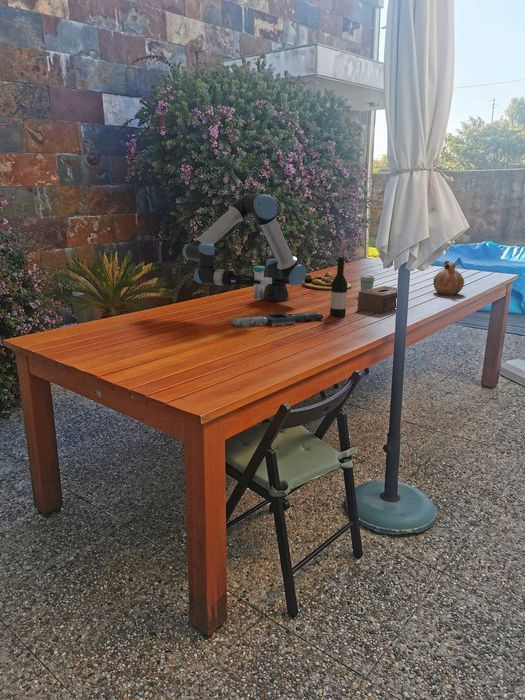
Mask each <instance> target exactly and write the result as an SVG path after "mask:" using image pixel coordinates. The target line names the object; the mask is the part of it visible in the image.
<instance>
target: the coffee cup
mask: <svg viewBox="0 0 525 700" xmlns="http://www.w3.org/2000/svg"><path fill="white" fill-rule="evenodd" d="M359 280H360V291H364V290H369V289H373V288H374V283H375V276H373V275H367V274H366V275H361V276H360V277H359Z"/></svg>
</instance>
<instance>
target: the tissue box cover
mask: <svg viewBox="0 0 525 700" xmlns="http://www.w3.org/2000/svg"><path fill="white" fill-rule="evenodd" d="M397 288H398V287H394V286H393V287H392V286H387V285H384V286H378V287H375V288H374V287H373V288H372V289H369V290H364V291H361V290H360V291H358V295H357V309H356V310H358V311H362V310H363V312H367V311H368V312H367V313H371V312H373V313H372V314H376V313H378V315H382V314H383V313H384V314H387V313H390V312H389V311H391V312H393V311H392V310H394V311H396V310H395V308H396V298H397ZM386 312H387V313H386ZM384 314H383V315H384Z"/></svg>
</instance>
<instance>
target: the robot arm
mask: <svg viewBox="0 0 525 700" xmlns="http://www.w3.org/2000/svg"><path fill="white" fill-rule="evenodd" d="M277 209H278V203H277V201H276V199H275V198H274V197H272V196H271V195H269V194H266V193H261V194H258V193H257V194H256V193H247V194H244V195H243V196H240V198H238V199H237V200H236V201H235V202H233V203H232V204H231V205H230V206H229V207H228V210H227V211H226V212H225V213H224V214H223V215H222V216H221V217H220V218H219V219H217V220H216V221H215V222H214V223H213V224H212V225H211V226H210V227H208V229H206V230H205V231H204V232H203V233H202V234H201V235H200V236H199V237H198V238H197V239H196V240H195V241H193V242H192V243H189V244H185V245H184V247H183V248H182V255H183V257H185V258H186V259H187V260H190V261H195V262H198V267H196V268H195V269H194V273H193V279H194V281H195V282H197V283H199V284H203V285H205V284H206V285H214V286H215V285H217V286H218V287H221V286H227V287H232V286H233V285H246V286H251V287H254V285H264V290H263V299H262V300H264V301H269V302H286V301H288V300H289V299H290V297H289V292H288V287H287V285H289V286H295V287H296V286H300V285H301V284H302V282H303V281H304V280H305V276H306V274H307V269H306V267H305V266H304V264H300V262H299V260H298V258H297V257H296V255H295V256H294V255H293V253H292V252H291V249H290V247H289V244H288V242H287V240H286V239H285V237H284V234H283V232H282V229H281V227H280V224H279V223H278V220H277V217H278V210H277ZM247 218H253V219H254V222H255V224H256V225H257V226H258V227H261V229H262V232H263V233H264V235H265V239H266V241H267V242H268V244H269V246H270V249H271V251H272V253H273V255H274V258H270V259H269V258H268V259H267V260H266V264H265V276H264V279H254V275H250V274H244V273H243V274H239V273H237V274H235V271H234V270H230V269H221V268H220V269H218V268H216V267H215V260H216V259H215V258H216V256H215V254H216V252H215V244H216V242H218V241H219V240H220V239H221V238H222V237H223V236H224V235H225V234H226V233H228V232H229V231H230V230H231V229H232V228H233V227H234V226H235V225H236V224H237V223H238V222H240V223H241V222H243V221H244V220H246V219H247Z"/></svg>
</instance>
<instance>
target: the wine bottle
mask: <svg viewBox="0 0 525 700" xmlns="http://www.w3.org/2000/svg"><path fill="white" fill-rule="evenodd" d="M344 267H345V258H344V256H342V255H339V256H338V257H337V268H336V275H335V276H336V277H335V276H334V277H335V278H334V277H333V281H332V289H331V291H330V292H331V294H330V305H329V307H330V309H329V316H330V315H331V316H330V317H332V316H335V317H334V318H345V317H346V313H347V312H346V309H347V295H348V290H347V280H346V277H345V275H344V272H345V271H344V270H345V268H344ZM344 316H345V317H344Z"/></svg>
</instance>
